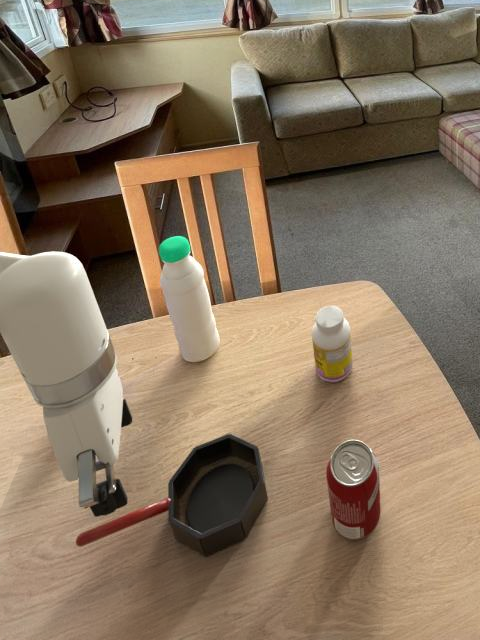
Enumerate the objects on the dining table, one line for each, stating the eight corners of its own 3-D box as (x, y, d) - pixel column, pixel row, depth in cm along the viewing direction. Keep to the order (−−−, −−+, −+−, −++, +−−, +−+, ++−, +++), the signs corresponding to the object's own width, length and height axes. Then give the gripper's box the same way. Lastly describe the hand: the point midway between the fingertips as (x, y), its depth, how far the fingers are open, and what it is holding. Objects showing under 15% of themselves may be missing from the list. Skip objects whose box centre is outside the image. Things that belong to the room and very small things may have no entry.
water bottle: (172, 357, 89) (140, 251, 78) (198, 328, 95) (172, 226, 84) (202, 369, 87) (173, 261, 76) (228, 339, 93) (204, 235, 82)
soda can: (362, 555, 62) (358, 503, 57) (321, 523, 65) (314, 471, 60) (389, 504, 67) (388, 452, 62) (350, 476, 71) (346, 425, 65)
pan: (78, 616, 57) (66, 598, 55) (91, 508, 68) (81, 489, 65) (272, 527, 65) (268, 508, 63) (258, 442, 75) (253, 423, 73)
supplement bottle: (314, 355, 89) (308, 304, 84) (349, 348, 90) (345, 297, 85) (318, 388, 83) (311, 335, 78) (355, 379, 85) (352, 327, 79)
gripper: (46, 314, 55) (88, 410, 62) (5, 463, 40) (66, 565, 48) (119, 294, 57) (151, 389, 65) (105, 428, 43) (148, 530, 51)
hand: (115, 464), depth 56 cm, fingers open, 9 cm apart
